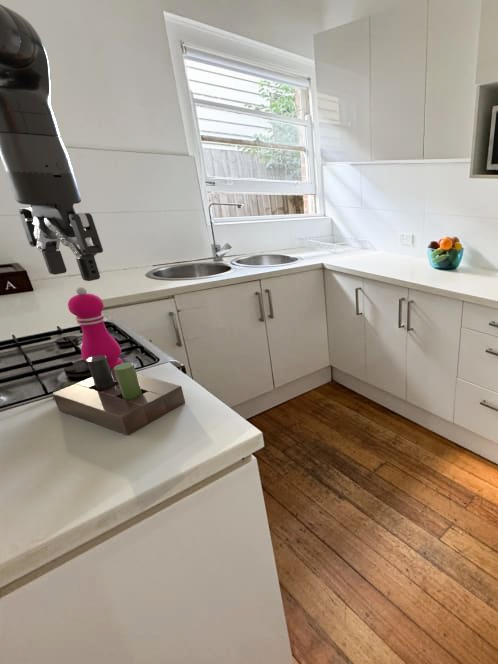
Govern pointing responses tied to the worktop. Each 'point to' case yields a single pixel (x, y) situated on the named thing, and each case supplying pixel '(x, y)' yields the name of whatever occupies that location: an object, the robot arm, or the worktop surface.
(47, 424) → the worktop surface
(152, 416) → the peg block
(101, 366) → the charcoal peg
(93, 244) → the robot arm
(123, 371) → the green peg
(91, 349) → the pepper mill
